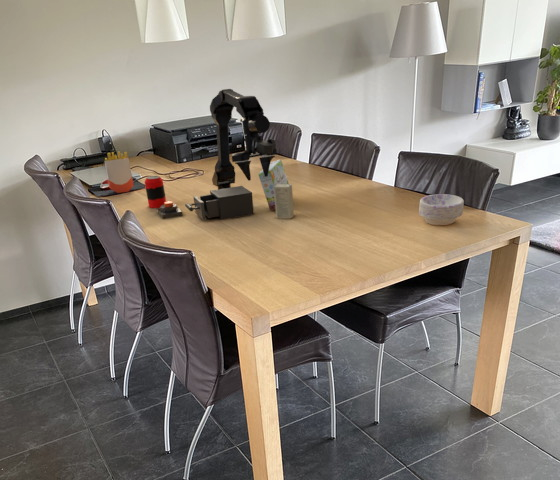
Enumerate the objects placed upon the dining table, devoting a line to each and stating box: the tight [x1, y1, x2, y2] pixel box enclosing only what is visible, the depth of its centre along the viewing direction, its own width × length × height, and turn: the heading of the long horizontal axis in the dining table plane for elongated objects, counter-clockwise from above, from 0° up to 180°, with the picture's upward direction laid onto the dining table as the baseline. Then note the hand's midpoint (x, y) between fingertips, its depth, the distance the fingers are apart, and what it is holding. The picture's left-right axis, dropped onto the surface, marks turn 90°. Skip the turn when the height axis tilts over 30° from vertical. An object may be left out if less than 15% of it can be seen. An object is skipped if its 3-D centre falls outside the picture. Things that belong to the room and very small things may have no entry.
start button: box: [164, 200, 174, 207], centre depth 233 cm, size 4×4×2 cm
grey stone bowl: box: [418, 193, 465, 226], centre depth 204 cm, size 15×15×8 cm
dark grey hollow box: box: [209, 185, 255, 221], centre depth 229 cm, size 14×13×9 cm
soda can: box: [144, 175, 167, 209], centre depth 244 cm, size 8×8×12 cm
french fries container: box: [104, 151, 134, 194], centre depth 268 cm, size 5×11×18 cm, turn 114°
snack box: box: [257, 158, 290, 211], centre depth 235 cm, size 21×6×15 cm, turn 168°
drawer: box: [184, 194, 220, 221], centre depth 226 cm, size 17×11×7 cm
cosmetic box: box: [274, 183, 295, 220], centre depth 219 cm, size 6×4×12 cm
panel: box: [157, 203, 183, 220], centre depth 234 cm, size 10×8×4 cm
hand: (258, 178), depth 217 cm, fingers open, 9 cm apart
